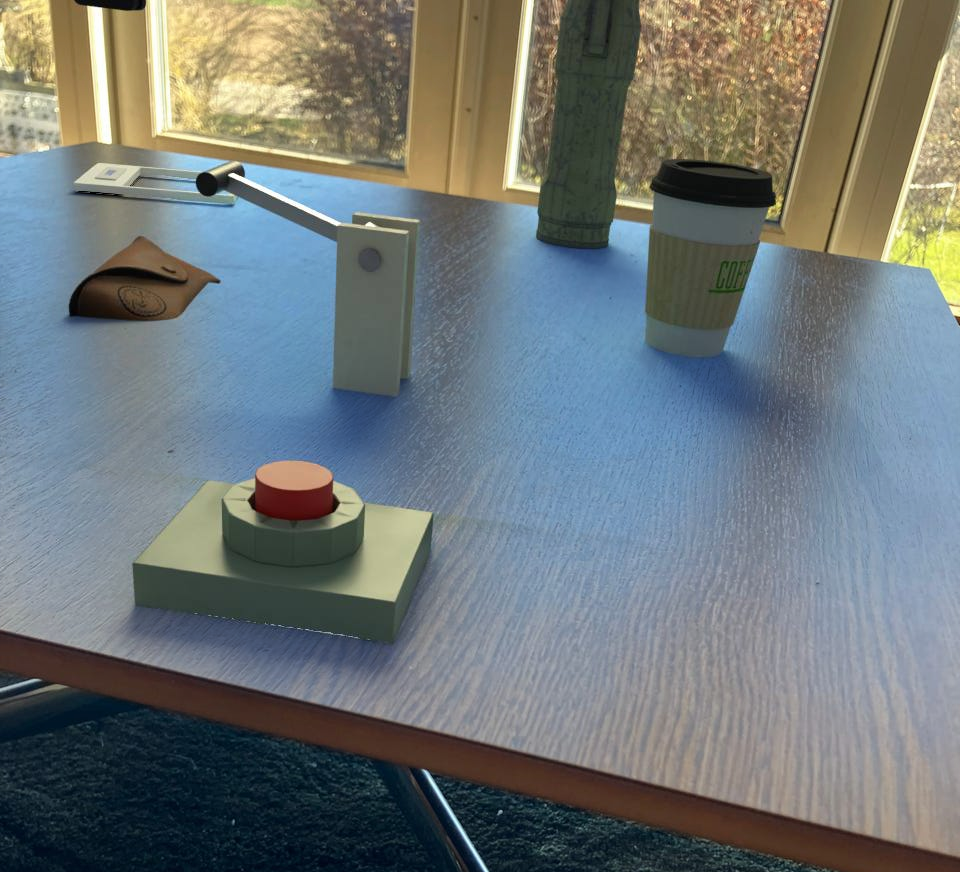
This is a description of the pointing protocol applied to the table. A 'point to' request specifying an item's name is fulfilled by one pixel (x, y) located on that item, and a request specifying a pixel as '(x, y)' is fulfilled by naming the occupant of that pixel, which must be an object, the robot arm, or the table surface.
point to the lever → (264, 198)
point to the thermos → (588, 121)
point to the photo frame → (123, 176)
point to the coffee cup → (701, 251)
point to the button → (293, 490)
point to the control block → (287, 563)
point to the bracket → (375, 302)
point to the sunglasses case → (139, 285)
